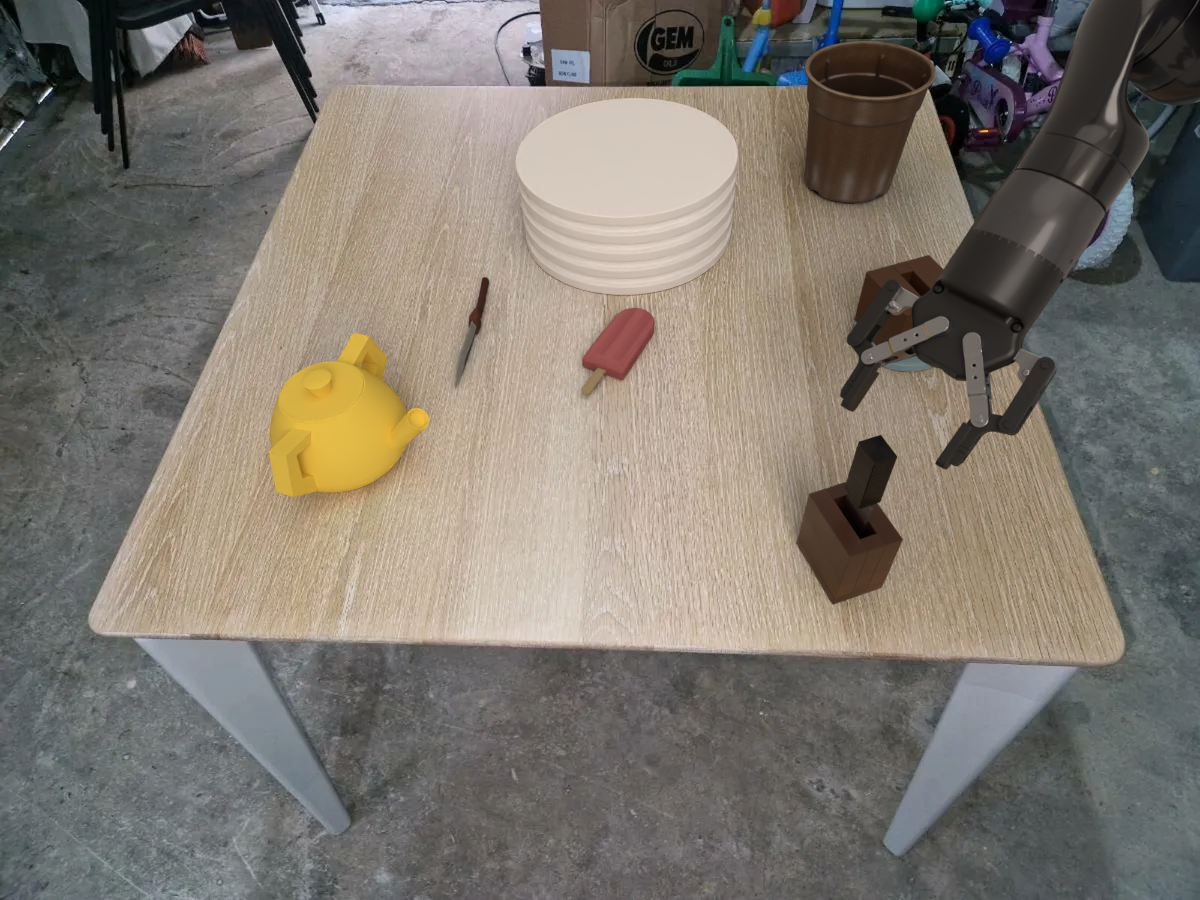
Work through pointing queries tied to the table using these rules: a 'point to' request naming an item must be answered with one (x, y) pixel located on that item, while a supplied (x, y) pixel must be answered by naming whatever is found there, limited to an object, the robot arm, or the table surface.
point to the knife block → (845, 546)
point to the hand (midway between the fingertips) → (892, 437)
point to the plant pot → (861, 115)
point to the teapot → (339, 424)
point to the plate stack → (627, 194)
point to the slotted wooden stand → (918, 281)
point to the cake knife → (867, 481)
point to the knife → (472, 329)
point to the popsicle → (618, 346)
